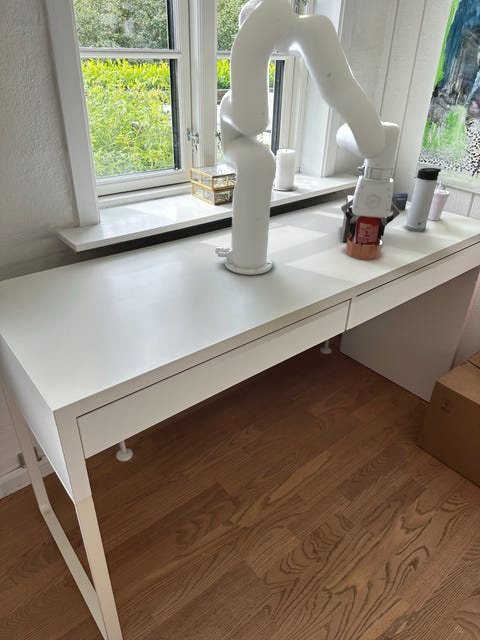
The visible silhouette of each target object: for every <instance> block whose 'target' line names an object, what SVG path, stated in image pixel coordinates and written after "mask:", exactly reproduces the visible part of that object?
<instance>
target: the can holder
mask: <svg viewBox="0 0 480 640" xmlns="http://www.w3.org/2000/svg"><path fill="white" fill-rule="evenodd" d="M352 241H353V237H351V235H350V236H347V240H346V244H345V245H346V246H345V254H346V255H348V256H349V257H350V258H354V259H358V260H364V261H370V260H377V259H378V258H380V257H381V252H382V247H383V241H382V239H381V240H380V239H378V238H377V243H376V246H363V245H358V244H355V243H353V242H352Z"/></svg>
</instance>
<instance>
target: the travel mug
mask: <svg viewBox="0 0 480 640" xmlns="http://www.w3.org/2000/svg"><path fill="white" fill-rule="evenodd" d="M441 172H442V168H437V167H423V168H420V169H418V172H417V175H416V179H415V185H414V188H413V193H412V197H411V201H410V206H409V211H408V215H407V220H406V223H405V229H407V230H408V231H411V232H420V233H421V232H424V231H425V230H426V229H427V224H428V220H429V219H428V216H429V212H430V208H431V204H432V200H433V196H434V192H435V189H437V188H436V187H437V183H438V178H439V175H440V173H441Z"/></svg>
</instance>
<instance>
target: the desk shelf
mask: <svg viewBox="0 0 480 640" xmlns="http://www.w3.org/2000/svg"><path fill="white" fill-rule="evenodd" d="M353 197H354V195H348V194H347V195H346V201H345V203H347V202H348V201H350V200H351V199H353ZM348 211H349V212H350V213H351V215H352V214H353V212H352V206H350V207H349V208H348ZM380 219H381V218H380ZM355 221H356V220H355ZM349 228H350V221H349V219H348V218H347V217H346V215H345V214H344V213H343V219H342V229H341V230H342V233H341V235H342V243H346V244H347V238H348V234H349ZM380 240H381V241H382V238H381V239H380Z"/></svg>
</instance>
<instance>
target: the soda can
mask: <svg viewBox="0 0 480 640" xmlns="http://www.w3.org/2000/svg"><path fill="white" fill-rule="evenodd" d="M380 223H381V219H380V218H379V217H373V216H358V218H357V219H356V227H355V232H354V237H353V241H352V242H353V243H355V244H358V245H363V246H376V243H377V238H378V233H379V228H380Z"/></svg>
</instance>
